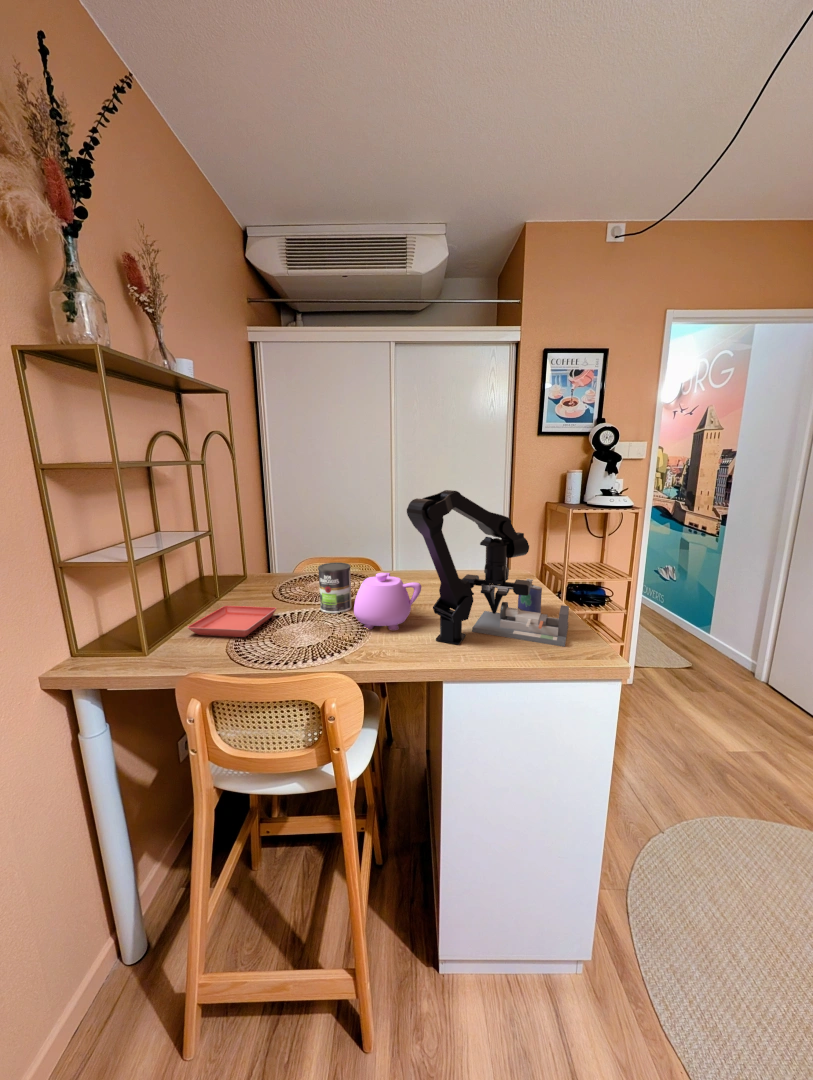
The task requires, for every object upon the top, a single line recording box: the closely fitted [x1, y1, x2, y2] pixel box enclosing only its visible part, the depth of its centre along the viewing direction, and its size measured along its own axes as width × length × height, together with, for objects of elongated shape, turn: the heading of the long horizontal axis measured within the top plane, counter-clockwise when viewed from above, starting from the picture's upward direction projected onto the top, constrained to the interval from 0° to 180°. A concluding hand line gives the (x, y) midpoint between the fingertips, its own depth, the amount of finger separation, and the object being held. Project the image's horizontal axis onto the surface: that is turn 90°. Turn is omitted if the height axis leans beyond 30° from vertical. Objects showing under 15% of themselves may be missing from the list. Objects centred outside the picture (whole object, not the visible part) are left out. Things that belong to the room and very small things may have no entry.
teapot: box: [353, 572, 422, 631], centre depth 119 cm, size 20×20×15 cm
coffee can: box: [317, 562, 352, 614], centre depth 131 cm, size 10×10×14 cm
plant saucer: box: [186, 605, 278, 638], centre depth 118 cm, size 18×18×3 cm
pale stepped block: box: [499, 601, 542, 627], centre depth 110 cm, size 10×9×6 cm
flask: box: [517, 578, 543, 614], centre depth 125 cm, size 9×3×11 cm, turn 25°
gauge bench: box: [471, 604, 570, 647], centre depth 112 cm, size 24×14×7 cm, turn 65°
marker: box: [538, 613, 549, 629], centre depth 108 cm, size 2×9×3 cm, turn 155°
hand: (494, 613), depth 116 cm, fingers closed
